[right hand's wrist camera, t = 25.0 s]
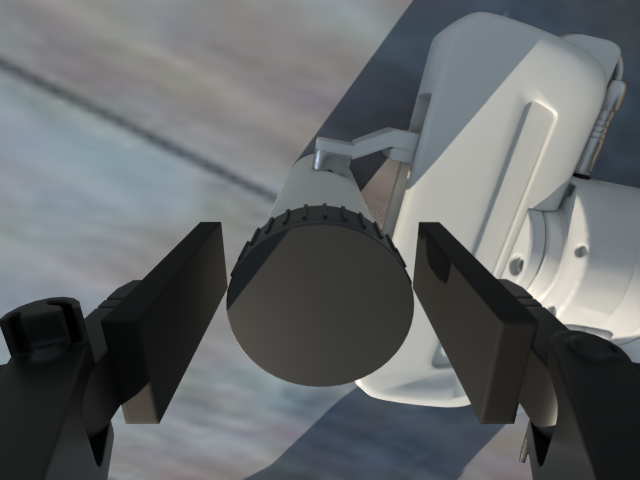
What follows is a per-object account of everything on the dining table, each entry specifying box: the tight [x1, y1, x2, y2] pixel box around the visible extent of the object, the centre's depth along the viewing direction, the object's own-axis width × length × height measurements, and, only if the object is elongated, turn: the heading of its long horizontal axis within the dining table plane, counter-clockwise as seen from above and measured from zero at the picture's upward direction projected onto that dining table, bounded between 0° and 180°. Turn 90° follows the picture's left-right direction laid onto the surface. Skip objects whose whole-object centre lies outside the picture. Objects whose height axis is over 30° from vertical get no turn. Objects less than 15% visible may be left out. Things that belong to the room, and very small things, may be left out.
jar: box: [265, 154, 374, 225], centre depth 18 cm, size 5×5×15 cm
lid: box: [227, 203, 414, 387], centre depth 11 cm, size 5×5×2 cm
